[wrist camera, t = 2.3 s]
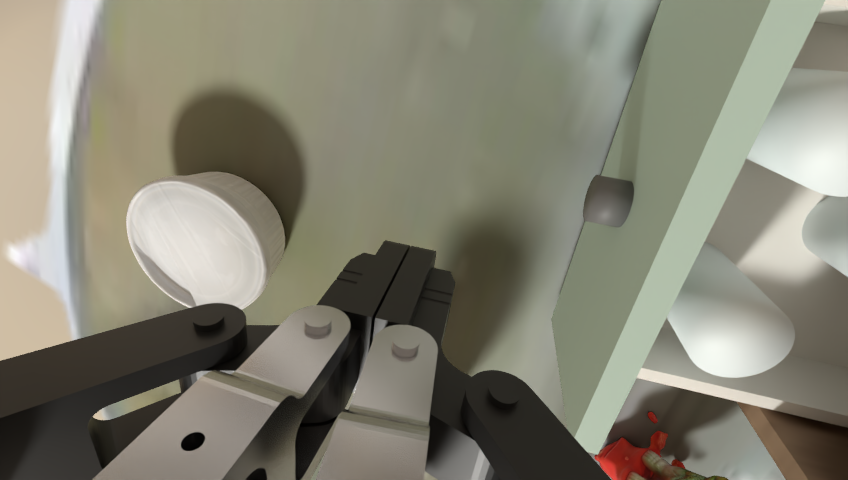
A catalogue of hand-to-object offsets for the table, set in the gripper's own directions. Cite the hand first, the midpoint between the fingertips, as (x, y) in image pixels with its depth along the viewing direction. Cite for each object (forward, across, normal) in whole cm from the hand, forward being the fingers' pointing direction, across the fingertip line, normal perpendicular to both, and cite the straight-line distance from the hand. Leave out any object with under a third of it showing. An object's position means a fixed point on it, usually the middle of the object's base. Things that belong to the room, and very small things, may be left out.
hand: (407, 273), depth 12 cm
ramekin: (+18, +18, +10) cm, 28 cm away
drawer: (+17, -18, 0) cm, 24 cm away
